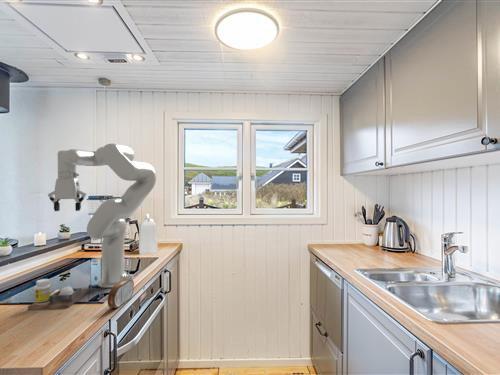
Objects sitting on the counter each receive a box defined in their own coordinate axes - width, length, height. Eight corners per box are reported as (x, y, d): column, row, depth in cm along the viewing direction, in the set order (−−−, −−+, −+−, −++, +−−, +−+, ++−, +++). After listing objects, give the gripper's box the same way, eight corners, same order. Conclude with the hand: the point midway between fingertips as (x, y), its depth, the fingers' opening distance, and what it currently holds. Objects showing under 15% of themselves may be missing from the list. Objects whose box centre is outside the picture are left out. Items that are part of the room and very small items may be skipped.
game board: (89, 291, 122) (89, 282, 122) (68, 307, 106) (68, 297, 106) (55, 292, 121) (55, 283, 121) (28, 309, 104) (28, 299, 104)
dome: (76, 294, 114) (76, 284, 114) (70, 300, 109) (69, 288, 109) (63, 295, 114) (63, 284, 114) (55, 300, 109) (55, 289, 109)
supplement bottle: (34, 302, 108) (34, 280, 107) (49, 299, 111) (49, 277, 111) (36, 306, 104) (36, 283, 104) (51, 302, 107) (51, 280, 107)
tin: (128, 295, 117) (127, 275, 117) (135, 296, 117) (135, 275, 117) (106, 312, 102) (106, 288, 102) (115, 312, 102) (114, 288, 102)
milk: (138, 250, 200) (138, 213, 200) (155, 248, 205) (155, 212, 204) (139, 254, 189) (139, 215, 189) (157, 252, 194) (157, 214, 194)
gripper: (89, 176, 144) (89, 209, 144) (52, 176, 142) (53, 210, 142) (81, 175, 136) (82, 211, 137) (43, 175, 135) (43, 211, 135)
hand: (67, 210), depth 139 cm, fingers open, 9 cm apart
